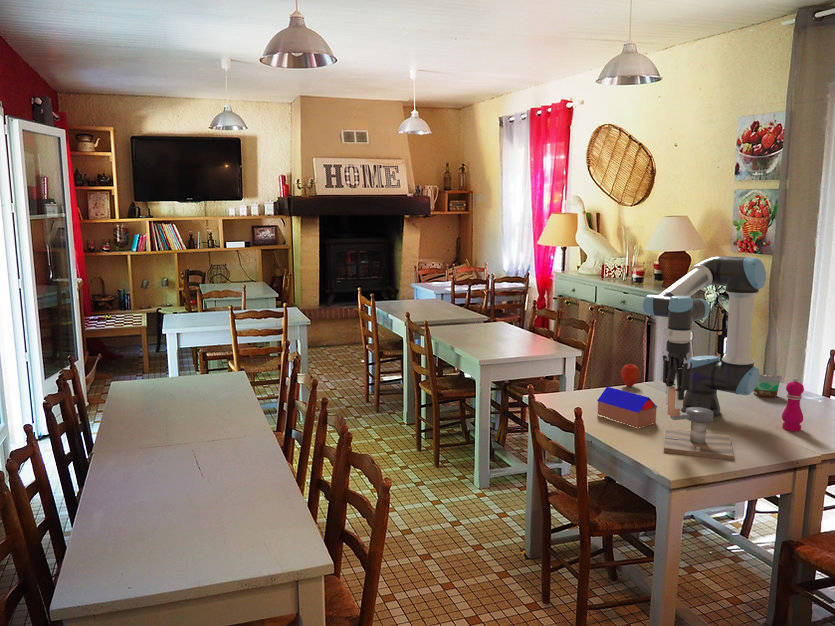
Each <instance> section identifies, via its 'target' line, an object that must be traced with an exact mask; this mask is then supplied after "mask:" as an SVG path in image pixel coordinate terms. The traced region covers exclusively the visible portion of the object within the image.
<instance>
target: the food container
mask: <svg viewBox="0 0 835 626" xmlns="http://www.w3.org/2000/svg"><path fill="white" fill-rule="evenodd" d="M782 380H783V378H782V374H781V373H780V374H779V375H771V374H759V380H758V383H757V386H756V388H755V389H754V391H753V392H752V393H753V395H754V396H755V395H756V397H758V396H759V397H758V398H763V397H764V398H765V399H775V398H777V397H778V392H779V386H780V382H781V381H782Z"/></svg>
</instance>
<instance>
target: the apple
mask: <svg viewBox="0 0 835 626" xmlns="http://www.w3.org/2000/svg"><path fill="white" fill-rule="evenodd" d="M620 376H621V380H622V381H623V383H624V385H625V386H626V387H627V386H628V387H627V388H631V387H633V386H634V385H635V384H636V383H637V381H638V379H639V378H640V369H639V367H638V366H637V365H636V364H632V363H631V364H630V363H629V364H628V363H627V364H625V365H624V366H623V367H622V368H621V370H620Z"/></svg>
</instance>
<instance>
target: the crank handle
mask: <svg viewBox="0 0 835 626" xmlns="http://www.w3.org/2000/svg"><path fill="white" fill-rule="evenodd" d="M676 389H677V386H675V387H670V388H669V398H668V405H667V415H668V416H669V417H670V419H671V420H673V421H680V420H681V421H682V420H687V421H690V422H691V421H692V422H697V423H706V424H709V423H712V422H713V421H714V416H713V411H712V410H710V409H706V408H701V407H690V408H687V409H686V413H685V412H681V409H675V392H676Z"/></svg>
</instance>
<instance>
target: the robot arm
mask: <svg viewBox="0 0 835 626" xmlns="http://www.w3.org/2000/svg"><path fill="white" fill-rule="evenodd" d="M766 280H767V272H766V267H765V264H764V263H763V261H762V260H761V259H759V258H756V257H751V256H731V255H729V256H728V255H718V256H712V257H709V258H707V259H704V260H702V261H700V262H698V263H696V264H695V265H693V266H691V268H690V269H689V271H688V273H687V274H685V275H684V276H682V277H681V278H679V279H678V280H677V281H675V282H673V284H671V285H670V286H669V287H667V288H666V289H665V290H663V291H661V292H660V293H659V294H647V295H645V297H644V299H643V301H642V311H643V313H644V314H646V315H648V316H653V317H660V318H661V317H662V318H667V319H668V320H667V334H666V340H667V341H666V346H665V347H666V348H665V350H666V352H667V354H665V355H664V354H663V355H662V361H663V364H662V365H663V367H662V368H663V369H662V383H663V384H665V386H666V403H665V405H667V406H668V398H669V388H670V387H677V389H676V392H675V409H680V411H682V413H686V409H687V408H690V407H701V408H706V409H710V410H712V411H713V417H714V416H715V417H716V416H719V415H720V414H721V405H720V401H719V398H718V394H717V393H718V391H720V392H725V393H731V394H735V395H742V396H749V395H751V394H752V393H753V391H754V389H755V388H756V386H757V383H758V380H759V375H760V369H759V367H757V366H755V360H754V359H753V358H751V349H752V348H751V347H752V331H753V317H754V315H753V314H754V300H755V299H754V298H755V296H756V295H758V294H759V292H760V291H759V290H761V289H762V288H764V287H765V284H766V283H765V282H766ZM709 286H722V287H725V293H726V294H728V296H729V297H728V298H729V299H728V301H729V303H728V318H727V334H726V335H727V336H726V349H725V350H726V351H725V353H726V354H725V355H724V356H723V357H722V358H721V360H720V357H719V356H717V355H696V356H691V357H690V358H689V359H688V357H687V355H688V354H689V353H690V349H691V348H690V347H691V343H690V341H691V337H692V335H691V333H692V322H696V321H700V320H703V319H705V318H706V317H707V316H708V315H709V314H710V310H711V309H710V305H709V302H708V301H707V300H706V299H703V298H701V297H699V298H698V297H695V298H692V295H693V296H694V294H695V293H697V292H698V291H699V290H701V289H706V288H707V287H709ZM675 381H676V383H675Z"/></svg>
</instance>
